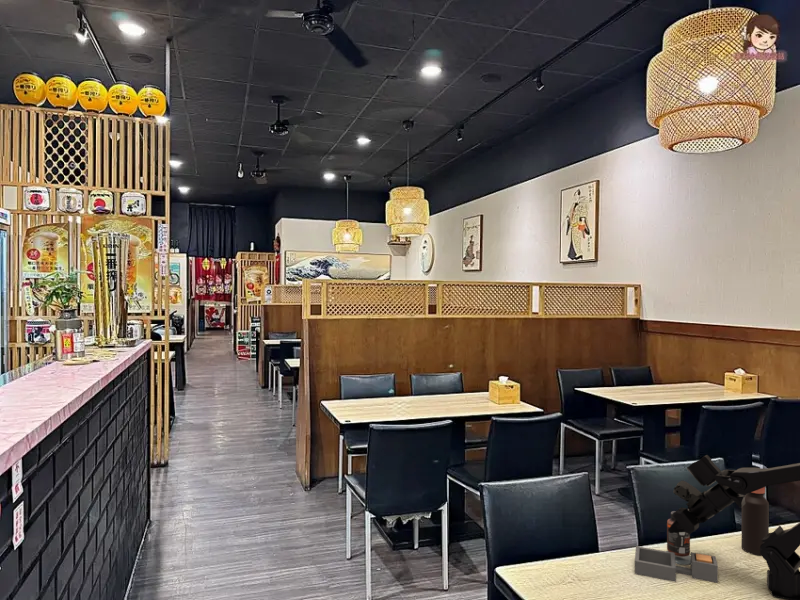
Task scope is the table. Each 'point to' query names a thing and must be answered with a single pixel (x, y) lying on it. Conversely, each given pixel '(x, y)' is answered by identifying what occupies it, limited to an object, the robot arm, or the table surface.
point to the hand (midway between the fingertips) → (673, 528)
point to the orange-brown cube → (703, 558)
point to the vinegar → (754, 521)
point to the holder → (672, 565)
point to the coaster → (683, 560)
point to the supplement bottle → (677, 540)
